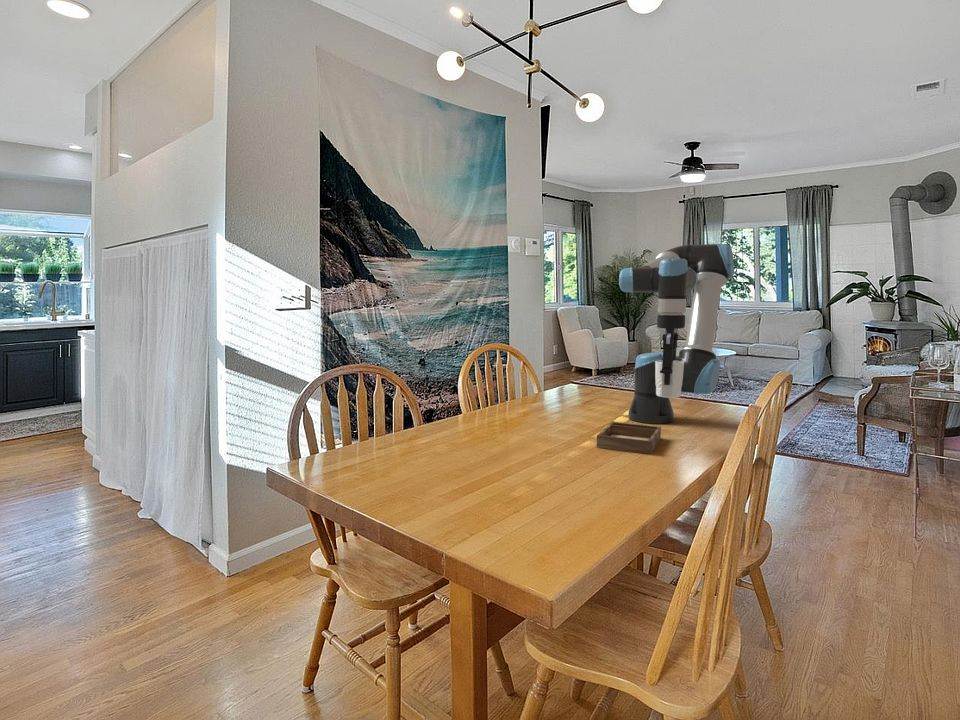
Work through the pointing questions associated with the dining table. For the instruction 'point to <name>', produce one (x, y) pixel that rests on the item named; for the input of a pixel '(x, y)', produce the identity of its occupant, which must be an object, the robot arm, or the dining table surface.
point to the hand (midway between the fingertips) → (668, 393)
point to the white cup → (677, 378)
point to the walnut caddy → (629, 437)
